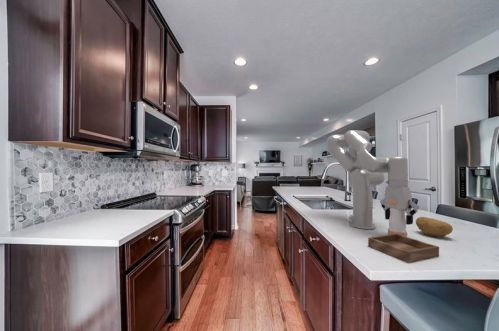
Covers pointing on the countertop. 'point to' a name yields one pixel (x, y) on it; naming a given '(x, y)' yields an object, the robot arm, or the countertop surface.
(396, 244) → the walnut tray
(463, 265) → the countertop surface
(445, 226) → the potato
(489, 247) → the countertop surface
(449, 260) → the countertop surface
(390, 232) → the pepper shaker
